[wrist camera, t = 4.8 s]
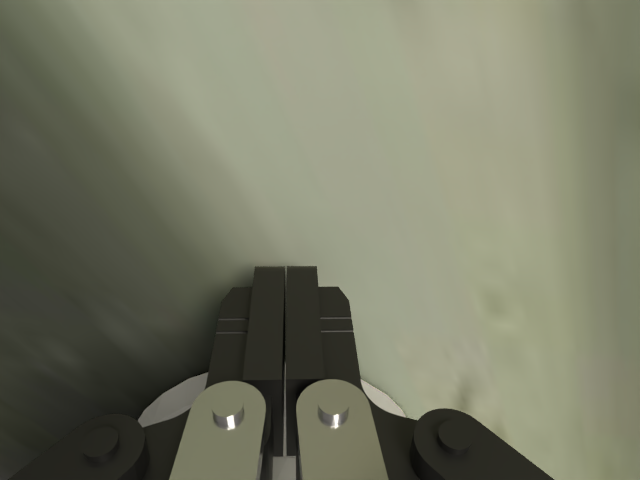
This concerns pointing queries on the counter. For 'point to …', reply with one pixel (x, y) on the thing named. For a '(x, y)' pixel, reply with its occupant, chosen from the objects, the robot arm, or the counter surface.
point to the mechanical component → (285, 466)
